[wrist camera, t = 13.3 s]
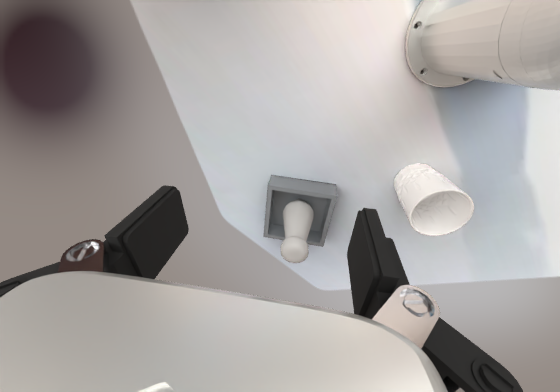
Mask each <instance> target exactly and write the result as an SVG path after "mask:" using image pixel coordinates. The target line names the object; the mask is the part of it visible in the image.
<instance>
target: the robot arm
mask: <svg viewBox="0 0 560 392" xmlns="http://www.w3.org/2000/svg"><path fill="white" fill-rule="evenodd" d="M415 24H417V28H416V29H415V28H414V25H415ZM405 52H406V58H407V62H408V65H409V67H410V69H411V71H412V72H413V74H414V75H415V76H416V77H417V78H418V79H419V80H421V81H422V82H424V83H426V84H428V85H432V86H436V87H455V86H458V85H462V84H465V83H468V82H470V81H472V80H475V79H478V80H485V81H491V82H498V83H504V84H511V85H517V86H524V87H530V88H539V89H546V90H560V0H422V1H421V2H420V4H419V5H418V7H417V9H416V11H415V12H414V14H413V16H412V19H411V21H410V24H409V27H408V31H407V36H406V44H405ZM421 70H423V73H421V74H420V72H421ZM463 77H464V78H463ZM187 234H188V224H187V220H186V216H185V212H184V208H183V204H182V199H181V195H180V192H179V190H177V188H176V187H174V186H162V187H161V188H160V189H159V190H157V191H156V192H155V193H154V194H153V195H151V196H150V197H149V198H148V199H147V200H146V201H144V202H143V203H142V204H141V205H140V206H139V207H137V208H136V209H135V210H134V211H133V212H132V213H130V214H129V215H128V216H127V217H126V218H124V219H123V220H122V221H121V222H120V223H119V224H117V225H116V226H115V227H114V228H113V229H112V230H110V231H109V232H108V233H107V234H106V235H105V238H106V240H105V241H104V242H102V241H101V240H97V239H90V240H85V241H82V242H79V243H77V244H75V245H73V246H71V247H70V248H69V249H67V250H66V251H65V252H64V253H63V255H62V257H61V260H60V262H58V263H55V264H52V265H49V266H46V267H43V268H40V269H37V270H34V271H31V272H28V273H25V274H22V275H20V276H17V277H14V278H11V279H8V280H6V281H3V282H1V283H0V392H523V390H522V388H521V387H520V385H519V383H518V382H517V380H516V379H515V378H514V377H513V376H512V374H511V373H510V372H509V371H508V370H507V369H505V368H504V367H503V366H502V365H501V364H500V363H498V362H497V361H496V360H494V359H493V358H492V357H491V356H489V355H488V354H487V353H485V352H484V351H483V350H481V349H480V348H479V347H477V346H476V345H475V344H474V343H472V342H471V341H470V340H468V339H467V338H466V337H464V336H463V335H462V334H460V333H459V332H458V331H457V330H455V329H454V328H453V327H451V326H450V325H449V324H447V323H446V322H445V321H444V320H442V319H441V318H440V317H439V315H440V310H439V306H438V305H437V303H436V301H435V300H434V299H433V298H432V297H431V295H429V294H428V293H427V292H425V291H424V290H422V289H420V288H418V287H415V286H412V285H409V282H408V279H407V277H406V274H405V271H404V269H403V266H402V263H401V260H400V258H399V255H398V252H397V250H396V247H395V244H394V242H393V240H392V239H391V238H386V237H385V234H384V231H383V228H382V225H381V222H380V219H379V216H378V213H377V211H376V209H368V208H363V210H362V211H360V210H359V211H358V214H357V218H356V221H355V225H354V229H353V232H352V236H351V240H350V243H349V247H348V252H347V258H348V266H349V274H350V282H351V290H352V298H353V306H354V314H352V313H348V312H343V311H339V310H334V309H329V308H324V307H318V306H313V305H307V304H302V303H296V302H290V301H284V300H278V299H272V298H266V297H261V296H254V295H248V294H243V293H236V292H230V291H224V290H218V289H211V288H205V287H199V286H193V285H187V284H181V283H175V282H167V281H162V280H155V278H156V276H157V275H158V274H159V272H160V271H161V269H162V268H163V266H164V265H165V264H166V263H167V261H168V260H169V258H170V257H171V256H172V254H173V253H174V252H175V250H176V249H177V248H178V246H179V245H180V243H181V242H182V241H183V239H184V238H185V236H186V235H187Z"/></svg>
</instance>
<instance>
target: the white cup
mask: <svg viewBox="0 0 560 392" xmlns="http://www.w3.org/2000/svg"><path fill="white" fill-rule="evenodd" d="M394 188H395V190H396V192H397V195H398V199H399V201H400V203H401V205H402V208H403V210H404V212H405V214H406V216H407V218H408V220H409V222H410V224H411V226H412V228H413V229H414V230H415V231H417V232H418V233H420V234H423V235H427V236H441V235H446V234H449V233H452V232H454V231H456V230H458V229H460V228H461V227H462V226H464V225H465V224H466V223H467V222H468V221H469V219H470V218H471V216H472V214H473V211H474V204H473V201H472V199H471V198H470V196H468V195H467V194H466V193H465V192H463V191H462V190H461V189H460V188H458V187H457V186H456V185H455V184H454V183H452V182H451V181H450V180H449V179H447V178H446V177H445V176H443V175H442V174H441V173H439V172H437V171H436V170H434V169H433V168H432V167H430V166H429V165H427V164H421V163H416V164H412V165H408V166H406V167H405V168H403V169H402V170H400V171H399V173H398V174H397V176H396V177H395V179H394Z"/></svg>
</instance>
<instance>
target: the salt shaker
mask: <svg viewBox="0 0 560 392" xmlns="http://www.w3.org/2000/svg"><path fill="white" fill-rule="evenodd" d="M313 217H314V212H313V210H312V208H311V206H310V205H309V203H308V202H306V201H304V200H302V199H299V198H298V199H296V200H293V201H291V202H289V203H288V204H287V205H286V207H285V208H284V210H283V220H284V231H285V239H284V241H283V243H282V244H281V255H282V257H283V258H284V259H285V260H287V261H288V262H291V263H300V262H302V261H304V260H305V259H306V258H307V257H308V244H307V242H306V241H307V237H308V234H309V231H310V228H311V225H312V221H313Z"/></svg>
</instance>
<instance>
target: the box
mask: <svg viewBox="0 0 560 392" xmlns="http://www.w3.org/2000/svg"><path fill="white" fill-rule="evenodd" d="M298 198H299V199H302V200H304V201H306V202H308V203H309V205H310V206H311V208H312V210H313V212H314V217H313V221H312V225H311V228H310V231H309V234H308V237H307V241H306V242H307V244H310V245H316V246H322V247H323V246H324V242H325V238H326V235H327V231H328V228H329V224H330V221H331V217H332V213H333V210H334V206H335V203H336V199H337V190H336V184H329V183H322V182H316V181H309V180H302V179H296V178H289V177H282V176H276V175H271V178H270V181H269V183H268V190H267V202H266V214H265V226H264V237H267V238H273V239H280V240H284V239H285V231H284V220H283V210H284V208H285V207H286V205H287V204H288V203H289V202H291V201H293V200H296V199H298Z"/></svg>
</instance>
